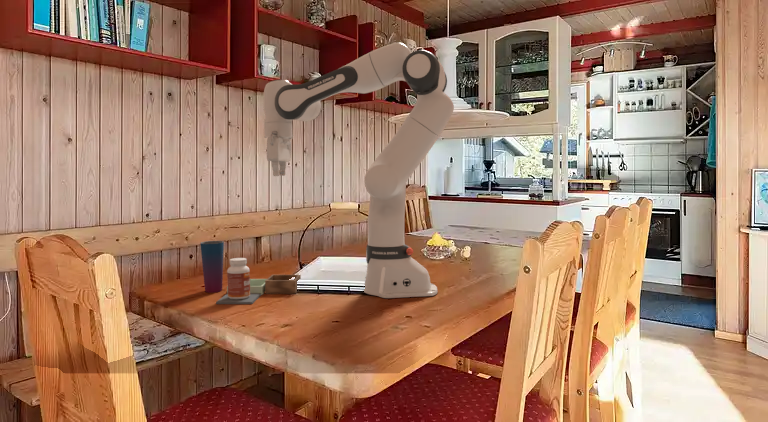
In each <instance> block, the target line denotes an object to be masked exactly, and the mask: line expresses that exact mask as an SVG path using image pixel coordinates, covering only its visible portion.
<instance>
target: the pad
mask: <svg viewBox="0 0 768 422" xmlns="http://www.w3.org/2000/svg"><path fill="white" fill-rule="evenodd" d="M261 296H262V295H261V293H250V297H248V298H245V299H237V300H234V299H230V298H229V297H228V293H227V292H226V294H225V295H223V296H222V297H220V298H219V299H217V301H215V304H216V305H253V304H254V303H255V302H256V301H257V300H258V299H259V298H260V297H261Z"/></svg>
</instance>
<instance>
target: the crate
mask: <svg viewBox="0 0 768 422" xmlns="http://www.w3.org/2000/svg"><path fill="white" fill-rule="evenodd" d="M292 277H295V279H294V280H289V279H291V278H292ZM301 277H302V275H301V274H271V275H270V276H269V277H268V278H266V279H267V280H266V281H265V293H264V294H265V295H296V294H297V293H298V292H297V281H298V280H299V279H302V278H301Z"/></svg>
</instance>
